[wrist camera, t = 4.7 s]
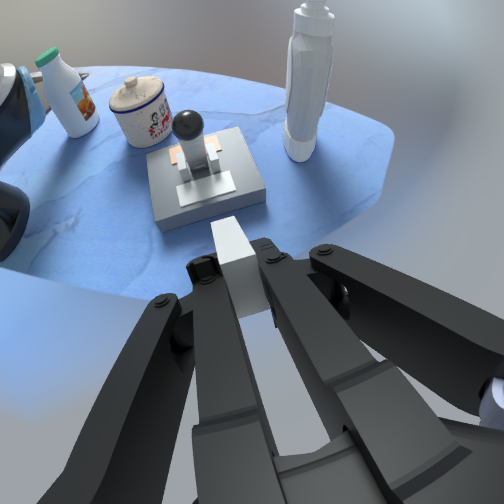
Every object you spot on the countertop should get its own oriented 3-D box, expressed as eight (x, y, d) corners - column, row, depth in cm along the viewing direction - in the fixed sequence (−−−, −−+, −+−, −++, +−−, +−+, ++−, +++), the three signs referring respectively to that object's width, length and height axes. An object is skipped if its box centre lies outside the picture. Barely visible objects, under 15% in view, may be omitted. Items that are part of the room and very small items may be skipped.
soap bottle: (269, 111, 43) (271, -22, 21) (314, 116, 43) (334, -15, 20) (262, 167, 38) (261, -1, 16) (317, 172, 38) (352, 9, 15)
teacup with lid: (163, 151, 40) (141, 94, 30) (118, 149, 41) (91, 100, 31) (189, 105, 45) (176, 53, 34) (147, 105, 46) (130, 58, 35)
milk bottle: (82, 142, 43) (36, 65, 25) (63, 136, 45) (21, 69, 26) (107, 115, 46) (71, 38, 27) (87, 112, 47) (52, 43, 29)
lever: (212, 172, 35) (206, 127, 22) (190, 178, 35) (172, 137, 22) (207, 152, 35) (198, 100, 22) (185, 158, 35) (166, 109, 22)
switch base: (265, 201, 36) (266, 176, 31) (162, 232, 35) (148, 211, 30) (239, 140, 41) (237, 114, 36) (152, 166, 39) (140, 142, 34)
